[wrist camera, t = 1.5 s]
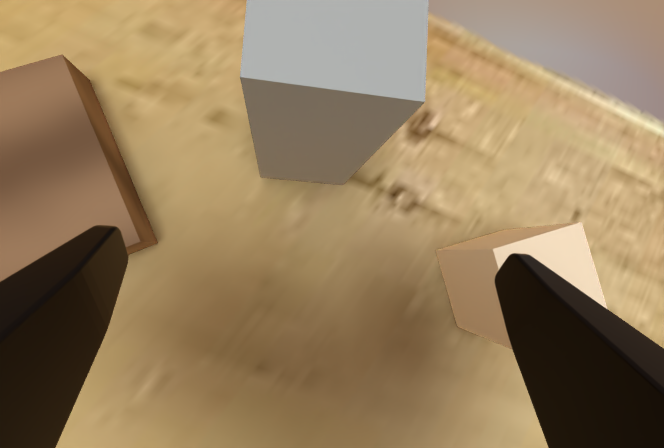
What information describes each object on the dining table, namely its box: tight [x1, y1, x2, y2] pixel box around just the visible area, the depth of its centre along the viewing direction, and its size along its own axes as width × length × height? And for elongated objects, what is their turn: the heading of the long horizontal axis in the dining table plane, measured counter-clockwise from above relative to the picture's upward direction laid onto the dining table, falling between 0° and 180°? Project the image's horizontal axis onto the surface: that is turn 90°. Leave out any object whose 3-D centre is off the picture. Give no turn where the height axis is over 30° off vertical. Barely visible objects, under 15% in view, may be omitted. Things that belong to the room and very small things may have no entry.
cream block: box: [435, 222, 607, 349], centre depth 20 cm, size 5×5×6 cm
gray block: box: [240, 0, 429, 185], centre depth 15 cm, size 5×5×12 cm
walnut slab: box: [0, 55, 158, 281], centre depth 18 cm, size 10×10×3 cm
